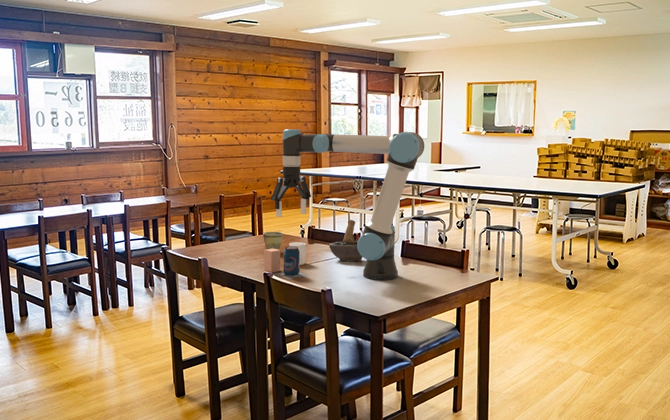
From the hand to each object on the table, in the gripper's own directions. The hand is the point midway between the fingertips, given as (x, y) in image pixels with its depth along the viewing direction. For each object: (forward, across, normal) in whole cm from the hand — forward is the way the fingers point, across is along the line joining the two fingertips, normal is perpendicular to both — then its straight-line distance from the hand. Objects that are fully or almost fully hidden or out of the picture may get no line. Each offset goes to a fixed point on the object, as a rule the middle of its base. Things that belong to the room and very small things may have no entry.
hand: (291, 215), depth 269 cm
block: (+27, +2, -12) cm, 29 cm away
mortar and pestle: (+27, -42, -6) cm, 50 cm away
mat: (+27, 0, 0) cm, 27 cm away
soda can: (+26, 0, 0) cm, 26 cm away
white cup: (+27, -16, -16) cm, 35 cm away
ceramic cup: (+27, -26, -46) cm, 59 cm away
